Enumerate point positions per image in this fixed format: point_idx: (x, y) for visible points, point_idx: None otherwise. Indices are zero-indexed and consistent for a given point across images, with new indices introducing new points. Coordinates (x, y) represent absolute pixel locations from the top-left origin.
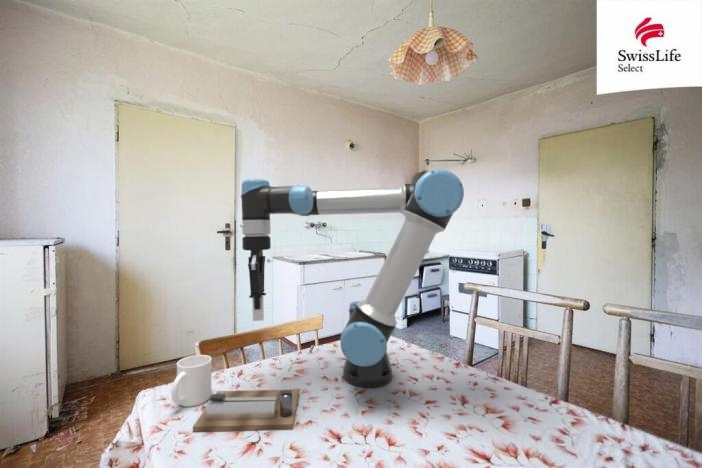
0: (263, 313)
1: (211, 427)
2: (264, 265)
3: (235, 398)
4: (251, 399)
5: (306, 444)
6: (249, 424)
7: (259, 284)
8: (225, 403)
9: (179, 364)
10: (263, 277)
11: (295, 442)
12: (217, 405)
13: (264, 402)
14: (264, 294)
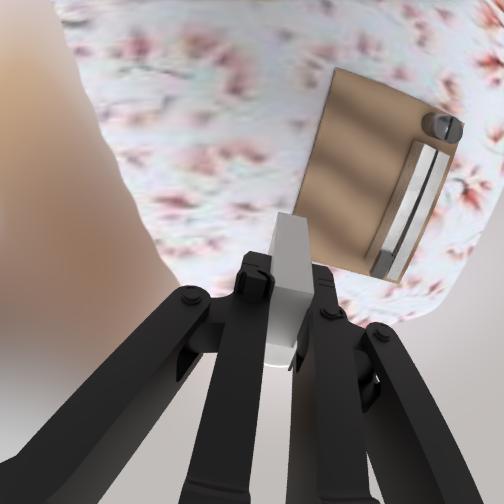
0: (281, 225)
1: (411, 256)
2: (5, 463)
3: (394, 230)
4: (412, 198)
5: (497, 115)
6: (436, 196)
7: (434, 403)
8: (404, 248)
9: (271, 359)
10: (141, 386)
11: (488, 129)
12: (405, 262)
13: (435, 174)
14: (272, 283)
